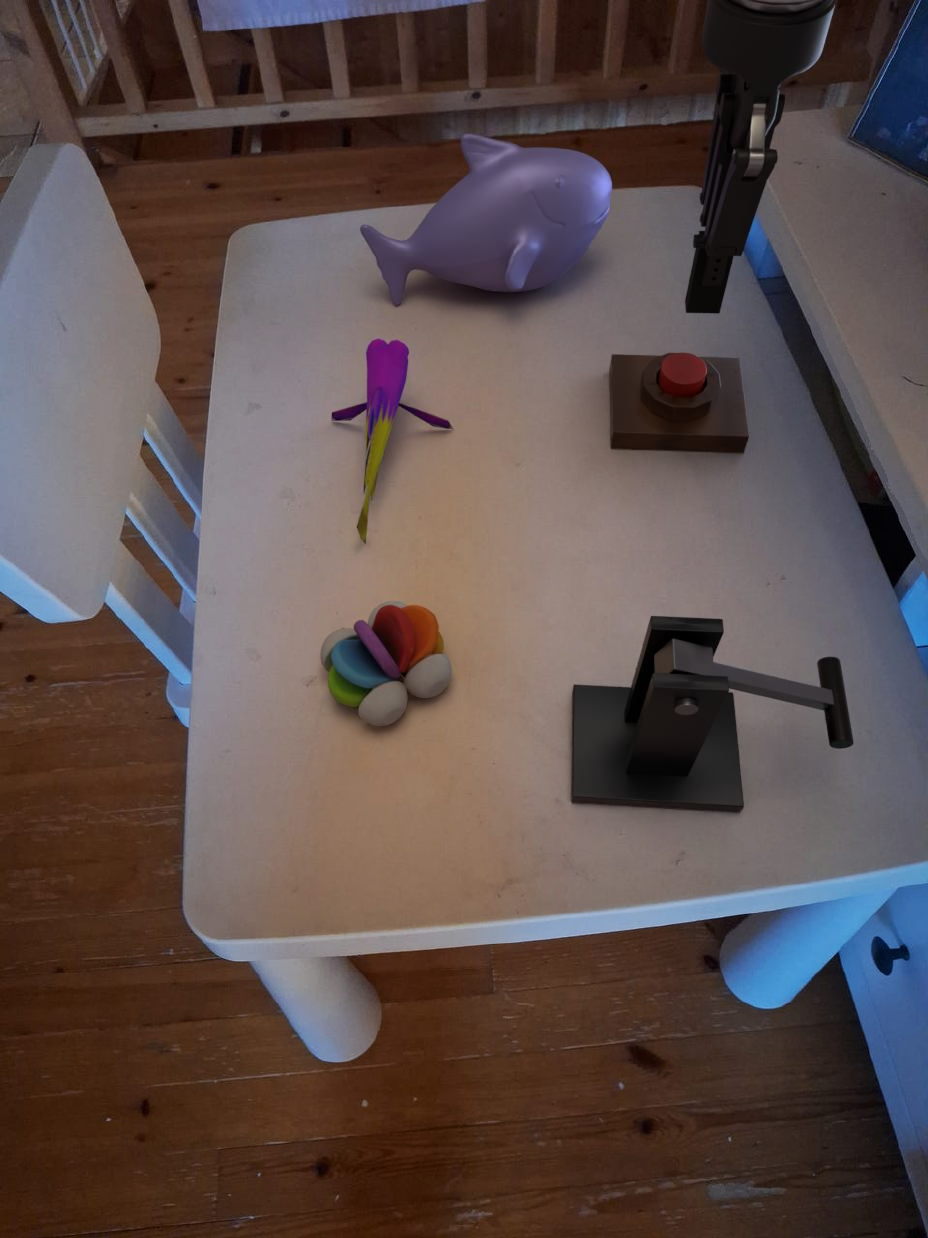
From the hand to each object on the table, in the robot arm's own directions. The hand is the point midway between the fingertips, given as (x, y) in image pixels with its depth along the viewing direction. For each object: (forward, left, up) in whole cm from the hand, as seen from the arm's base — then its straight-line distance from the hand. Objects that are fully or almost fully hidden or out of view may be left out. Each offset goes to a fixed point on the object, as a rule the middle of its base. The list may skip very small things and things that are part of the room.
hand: (702, 306), depth 74 cm
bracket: (-7, +34, -12) cm, 36 cm away
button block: (0, 0, -12) cm, 12 cm away
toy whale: (+23, -11, -12) cm, 28 cm away
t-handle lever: (-11, +32, -2) cm, 34 cm away
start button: (0, 0, -9) cm, 9 cm away
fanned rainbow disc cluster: (+14, +35, -12) cm, 40 cm away
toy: (+23, +16, -12) cm, 31 cm away
